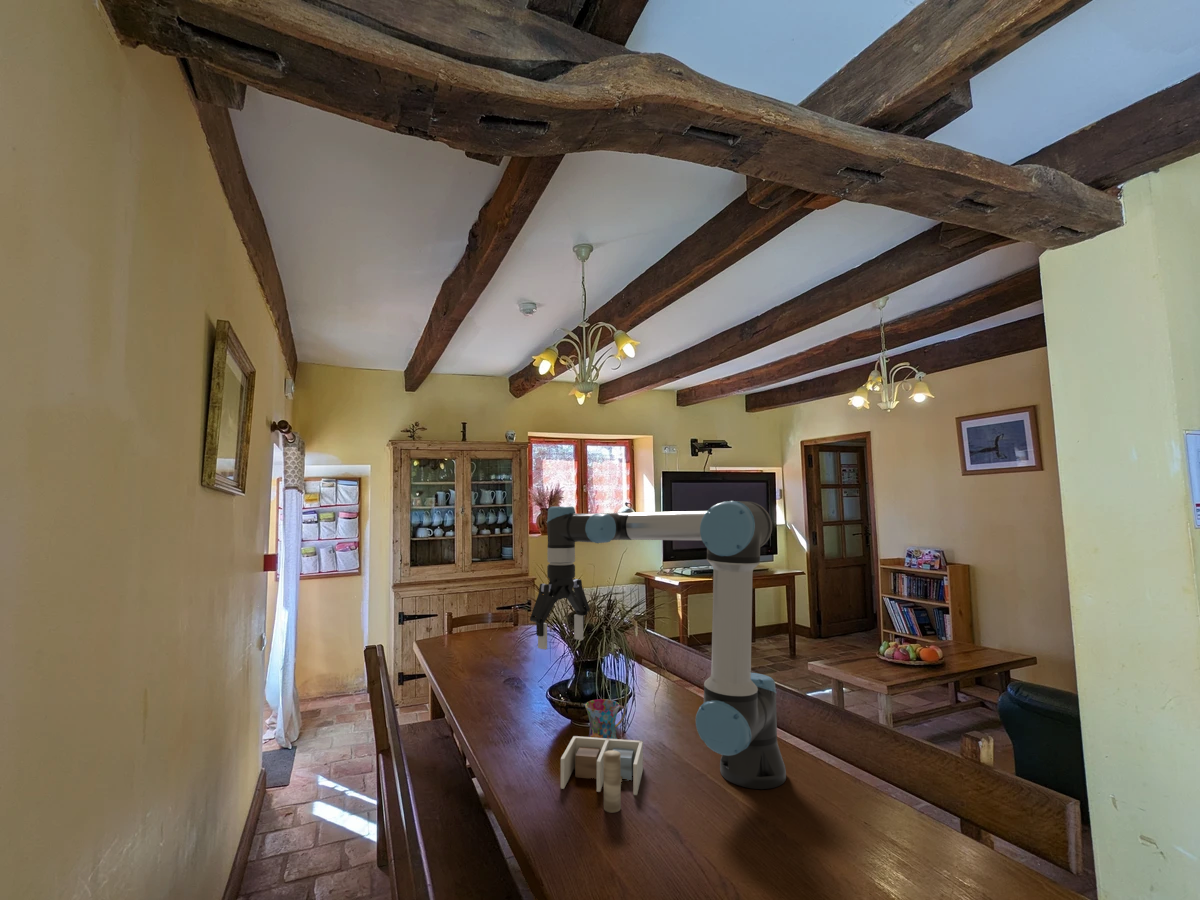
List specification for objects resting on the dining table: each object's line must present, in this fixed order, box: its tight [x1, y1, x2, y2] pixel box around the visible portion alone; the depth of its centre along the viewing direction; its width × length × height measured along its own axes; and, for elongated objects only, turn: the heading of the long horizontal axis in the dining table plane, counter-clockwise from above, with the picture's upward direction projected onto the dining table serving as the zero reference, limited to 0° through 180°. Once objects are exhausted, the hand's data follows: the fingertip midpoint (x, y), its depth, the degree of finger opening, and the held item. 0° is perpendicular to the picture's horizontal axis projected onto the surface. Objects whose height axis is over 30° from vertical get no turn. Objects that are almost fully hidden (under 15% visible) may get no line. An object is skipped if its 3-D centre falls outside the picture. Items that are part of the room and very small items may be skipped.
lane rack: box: [560, 735, 644, 796], centre depth 136 cm, size 13×17×6 cm
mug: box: [584, 698, 627, 739], centre depth 155 cm, size 12×9×11 cm
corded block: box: [603, 748, 634, 814], centre depth 131 cm, size 20×5×11 cm, turn 170°
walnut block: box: [574, 747, 600, 780], centre depth 139 cm, size 5×5×5 cm
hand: (561, 643), depth 155 cm, fingers open, 13 cm apart
